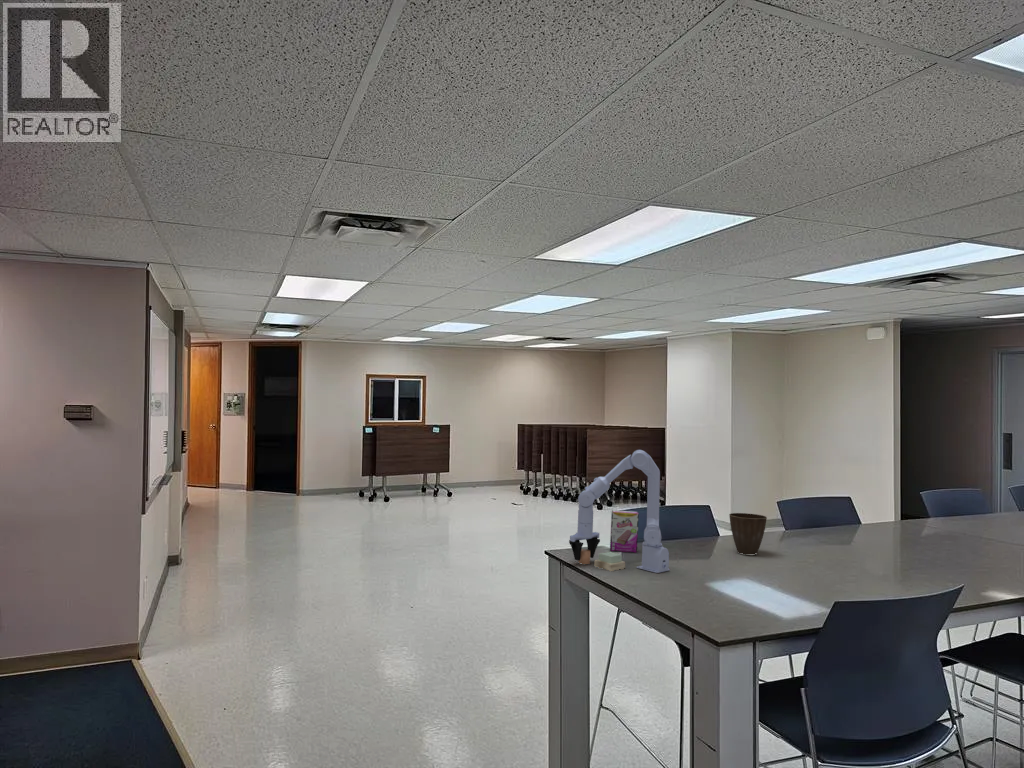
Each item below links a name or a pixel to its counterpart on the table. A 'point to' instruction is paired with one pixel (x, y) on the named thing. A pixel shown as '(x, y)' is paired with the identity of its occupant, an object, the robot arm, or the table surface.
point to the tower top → (610, 557)
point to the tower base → (609, 565)
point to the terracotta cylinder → (585, 556)
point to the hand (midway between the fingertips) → (584, 558)
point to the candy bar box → (624, 531)
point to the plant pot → (747, 531)
